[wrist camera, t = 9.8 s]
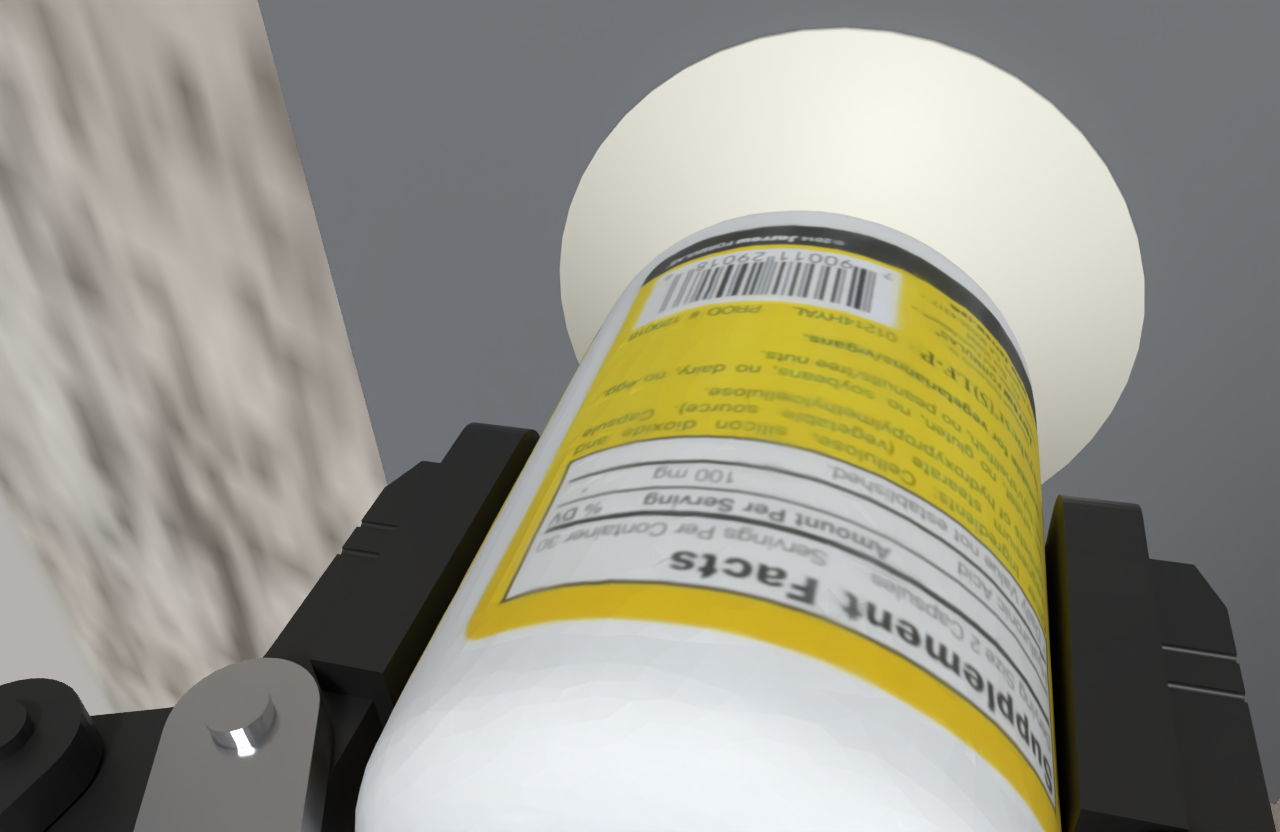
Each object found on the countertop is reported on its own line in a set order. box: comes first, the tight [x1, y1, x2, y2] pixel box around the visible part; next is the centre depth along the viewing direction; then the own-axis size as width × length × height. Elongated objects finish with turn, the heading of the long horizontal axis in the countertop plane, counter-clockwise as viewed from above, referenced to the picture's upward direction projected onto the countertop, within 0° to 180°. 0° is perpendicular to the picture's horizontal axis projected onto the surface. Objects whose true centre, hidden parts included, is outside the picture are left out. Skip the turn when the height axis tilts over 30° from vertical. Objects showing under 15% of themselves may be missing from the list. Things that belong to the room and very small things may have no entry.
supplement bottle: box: [355, 210, 1061, 832], centre depth 10 cm, size 5×5×10 cm
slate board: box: [258, 0, 1280, 804], centre depth 15 cm, size 16×18×1 cm
